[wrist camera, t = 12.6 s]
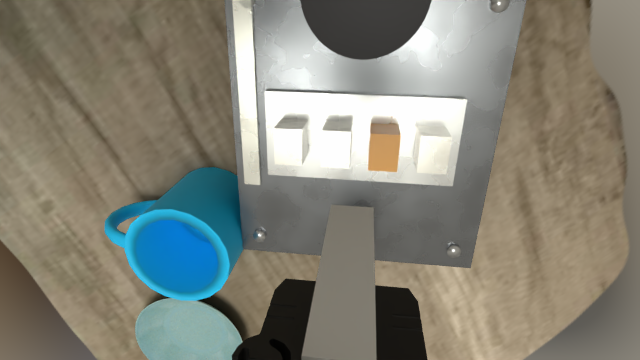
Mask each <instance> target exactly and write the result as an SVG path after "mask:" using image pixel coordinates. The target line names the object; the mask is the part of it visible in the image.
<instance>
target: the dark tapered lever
mask: <svg viewBox="0 0 640 360" xmlns="http://www.w3.org/2000/svg"><path fill="white" fill-rule="evenodd" d="M300 1H301V7H302V11H303V14H304V17H305V19H306V22H307V24H308V26H309V28H310V29H311V31H312V32H313V34H314V35H315V36H316V38H317V39H318V40H319V41H320V42H321V43H322V44H323V45H324V46H326V47H327V48H328V49H330V50H331V51H333V52H335V53H337V54H339V55H341V56H344V57H347V58H351V59H359V60H368V59H375V58H379V57H383V56H386V55H388V54H390V53H392V52H394V51H396V50H397V49H399V48H401V47H402V46H403V45H404V44H406V43H407V42H408V41H409V40H410V39H411V38H412V37H413V36H414V35H415V33H416V32H417V31H418V29H419V28H420V27H421V25H422V23H423V21H424V20H425V18H426V15H427V13H428V11H429V8H430V4H431V1H432V0H300Z"/></svg>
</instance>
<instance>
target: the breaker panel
mask: <svg viewBox="0 0 640 360" xmlns="http://www.w3.org/2000/svg"><path fill="white" fill-rule="evenodd" d="M525 4H526V0H432V1H431V4H430V8H429V11H428V13H427V15H426V18H425V20H424V21H423V23H422V25H421V27H420V28H419V29H418V31H417V32H416V33H415V35H414V36H413V37H412V38H411V39H410V40H409V41H408V42H407V43H406V44H404V45H403V46H402V47H401V48H399V49H397V50H396V51H394V52H392V53H390V54H388V55H386V56H383V57H379V58H375V59H368V60H359V59H351V58H347V57H344V56H341V55H339V54H337V53H335V52H333V51H331V50H330V49H328V48H327V47H326V46H324V45H323V44H322V43H321V42H320V41H319V40H318V39H317V38H316V36H315V35H314V34H313V32H312V31H311V29H310V28H309V26H308V24H307V22H306V19H305V17H304V14H303V11H302V7H301V1H300V0H225V14H226V27H227V41H228V54H229V67H230V81H231V94H232V108H233V121H234V134H235V148H236V161H237V175H238V188H239V202H240V215H241V228H242V242H243V249H249V250H261V251H273V252H285V253H296V254H308V255H320V256H321V254H322V249H323V244H324V239H325V233H326V228H327V223H328V218H329V213H330V208H331V205H344V206H359V207H373V208H374V255H375V260H380V261H392V262H404V263H416V264H428V265H440V266H452V267H464V268H471V263H472V258H473V253H474V249H475V244H476V239H477V234H478V230H479V225H480V220H481V215H482V210H483V206H484V201H485V196H486V191H487V186H488V182H489V177H490V172H491V167H492V162H493V158H494V153H495V148H496V143H497V139H498V134H499V129H500V124H501V119H502V115H503V110H504V105H505V100H506V95H507V91H508V86H509V81H510V76H511V72H512V67H513V62H514V57H515V52H516V48H517V43H518V38H519V33H520V28H521V24H522V19H523V14H524V9H525ZM371 123H377V124H398V125H399V129H400V133H401V139H400V149H399V159H398V168H397V172H385V171H369V170H368V154H369V139H370V125H371Z"/></svg>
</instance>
